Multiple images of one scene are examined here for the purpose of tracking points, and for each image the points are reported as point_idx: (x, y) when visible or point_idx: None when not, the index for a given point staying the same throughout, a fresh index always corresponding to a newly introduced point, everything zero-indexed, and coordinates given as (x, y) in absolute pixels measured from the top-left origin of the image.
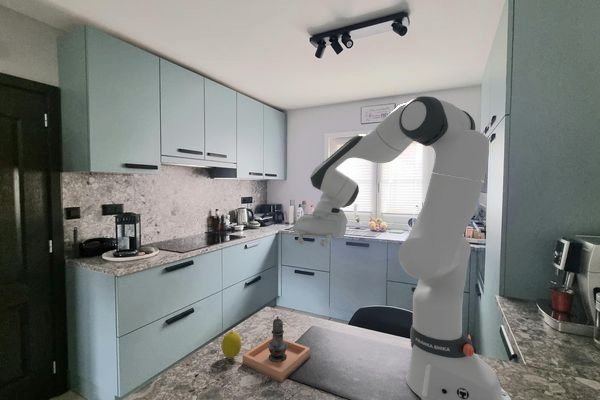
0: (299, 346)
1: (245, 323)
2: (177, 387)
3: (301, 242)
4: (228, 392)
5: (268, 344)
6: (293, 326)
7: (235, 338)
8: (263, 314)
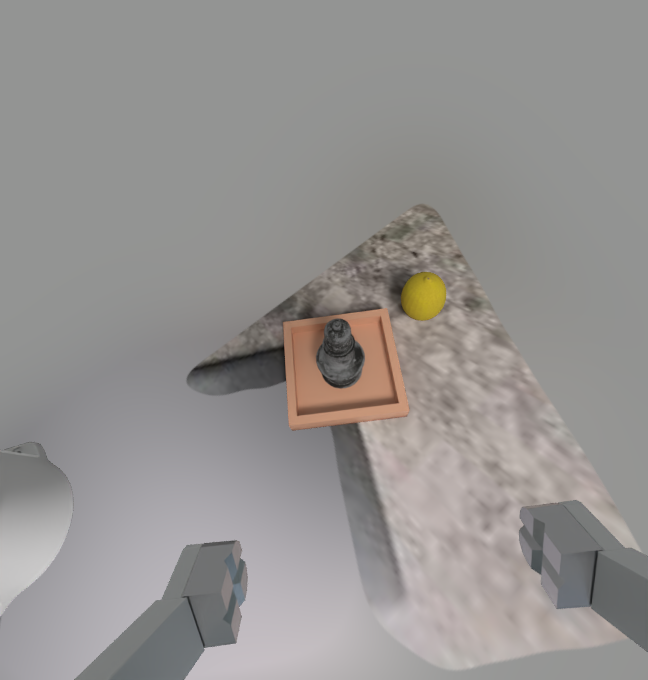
0: (316, 414)
1: (573, 437)
2: (405, 227)
3: (532, 537)
4: (336, 266)
5: (357, 344)
6: (447, 537)
7: (409, 285)
8: None
